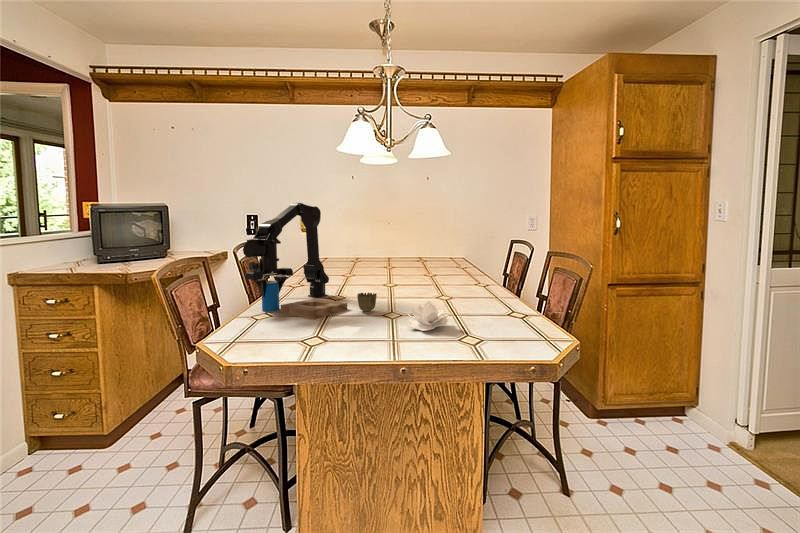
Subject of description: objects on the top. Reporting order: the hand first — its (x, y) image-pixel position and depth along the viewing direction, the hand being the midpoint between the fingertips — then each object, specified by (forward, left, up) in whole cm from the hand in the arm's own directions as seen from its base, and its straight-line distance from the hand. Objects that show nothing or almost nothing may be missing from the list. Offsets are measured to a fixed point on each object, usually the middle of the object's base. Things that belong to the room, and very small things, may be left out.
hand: (270, 295), depth 173 cm
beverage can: (0, 0, -7) cm, 7 cm away
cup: (-19, +33, -7) cm, 39 cm away
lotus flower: (-16, +63, -7) cm, 65 cm away
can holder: (-9, +15, -6) cm, 19 cm away
